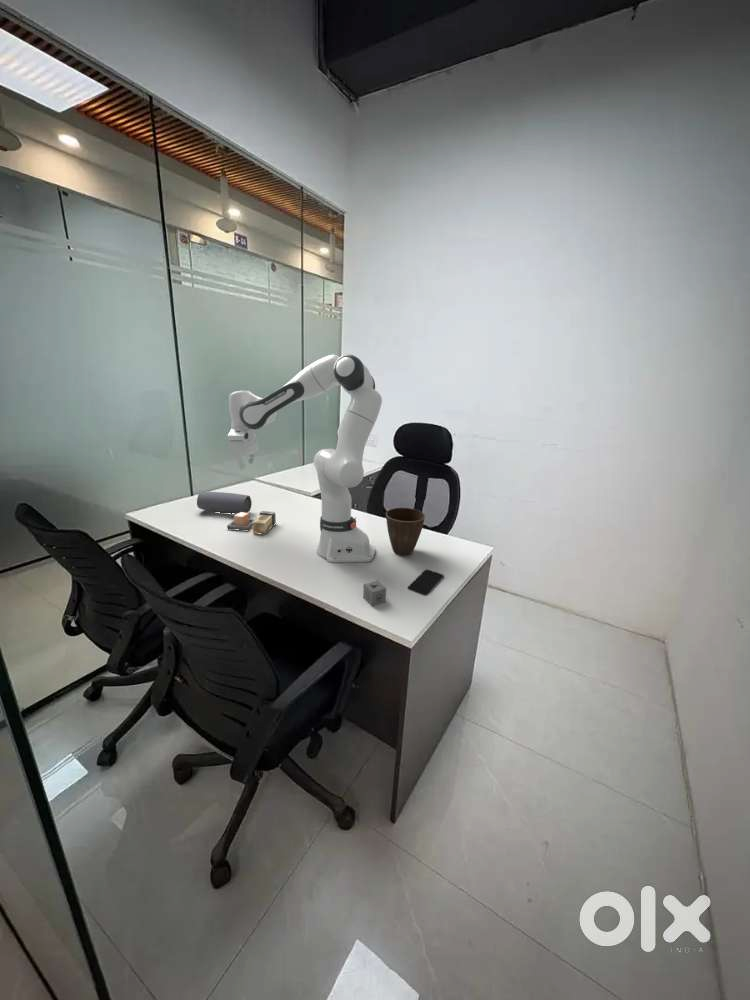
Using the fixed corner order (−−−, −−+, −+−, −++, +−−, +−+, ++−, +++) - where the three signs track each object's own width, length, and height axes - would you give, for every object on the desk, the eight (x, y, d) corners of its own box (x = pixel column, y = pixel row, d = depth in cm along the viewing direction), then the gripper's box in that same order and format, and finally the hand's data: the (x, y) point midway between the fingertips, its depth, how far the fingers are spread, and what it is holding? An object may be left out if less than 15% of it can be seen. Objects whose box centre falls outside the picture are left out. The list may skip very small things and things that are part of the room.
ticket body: (275, 523, 164) (275, 511, 162) (266, 534, 152) (265, 521, 151) (261, 522, 164) (261, 510, 162) (251, 533, 153) (250, 520, 151)
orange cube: (241, 522, 162) (241, 511, 160) (249, 523, 161) (248, 513, 159) (234, 526, 157) (233, 515, 156) (242, 527, 156) (242, 516, 155)
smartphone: (406, 588, 119) (425, 568, 131) (406, 591, 120) (425, 571, 132) (426, 595, 116) (444, 575, 128) (426, 598, 116) (444, 577, 128)
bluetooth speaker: (252, 511, 177) (251, 491, 174) (244, 518, 168) (243, 497, 165) (207, 507, 178) (205, 488, 175) (197, 514, 170) (194, 493, 166)
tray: (256, 523, 163) (255, 519, 163) (248, 531, 155) (247, 527, 154) (236, 521, 164) (236, 518, 163) (227, 529, 155) (227, 525, 155)
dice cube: (363, 598, 113) (363, 584, 112) (376, 593, 116) (377, 580, 114) (371, 606, 109) (372, 592, 108) (385, 602, 112) (386, 588, 110)
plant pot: (389, 562, 136) (392, 522, 131) (378, 544, 149) (381, 508, 144) (426, 559, 140) (431, 520, 135) (413, 542, 153) (416, 506, 148)
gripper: (245, 428, 156) (249, 459, 161) (225, 436, 137) (229, 472, 141) (260, 428, 156) (263, 460, 160) (241, 436, 136) (245, 472, 141)
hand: (247, 465), depth 151 cm, fingers open, 8 cm apart
